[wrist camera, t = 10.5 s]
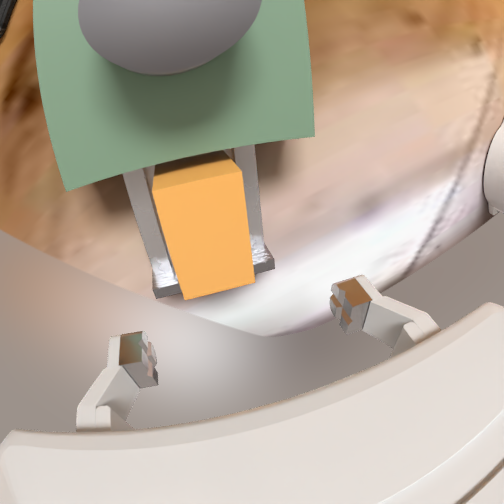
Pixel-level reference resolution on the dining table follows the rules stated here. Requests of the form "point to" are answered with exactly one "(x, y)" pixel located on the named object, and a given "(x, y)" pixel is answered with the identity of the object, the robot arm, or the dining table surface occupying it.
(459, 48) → the dining table surface
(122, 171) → the green block with dome
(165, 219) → the orange block
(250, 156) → the open gray drawer
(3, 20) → the phone
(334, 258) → the dining table surface
